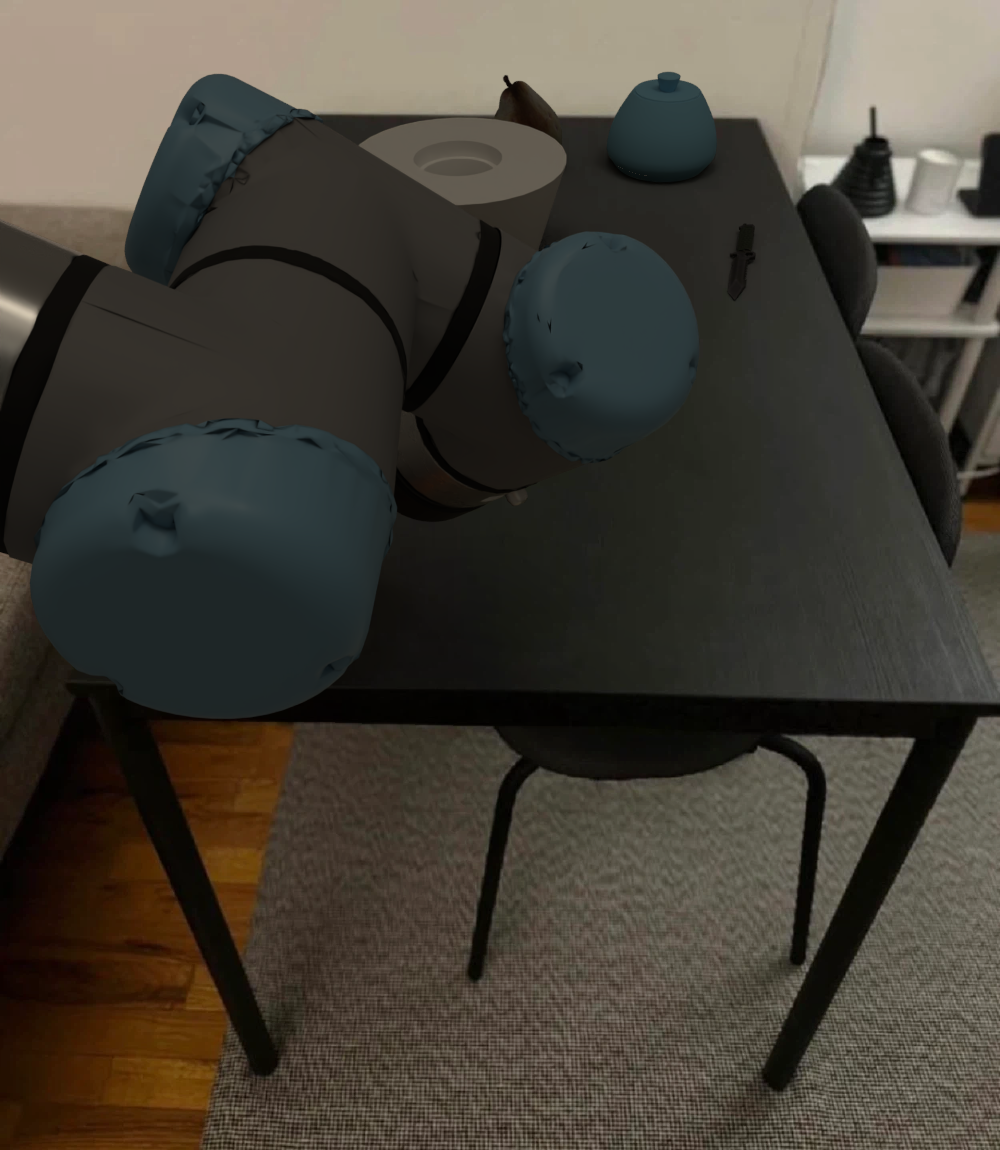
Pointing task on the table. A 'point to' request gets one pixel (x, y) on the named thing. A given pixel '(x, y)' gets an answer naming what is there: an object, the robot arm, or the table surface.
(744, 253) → the knife
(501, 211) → the grey tapered cylinder
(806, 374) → the table surface
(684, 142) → the sugar bowl
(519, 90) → the fruit
